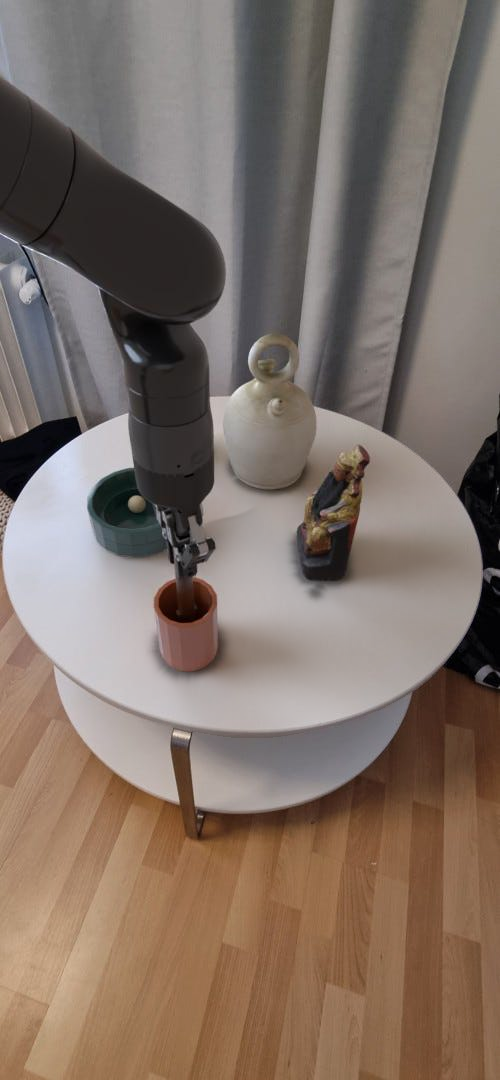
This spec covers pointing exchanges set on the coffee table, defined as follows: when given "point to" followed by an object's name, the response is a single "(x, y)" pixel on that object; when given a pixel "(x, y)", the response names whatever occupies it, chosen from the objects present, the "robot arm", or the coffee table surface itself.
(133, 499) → the dough ball
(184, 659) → the crock
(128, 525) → the bowl
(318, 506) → the statue
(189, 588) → the stick
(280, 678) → the coffee table surface
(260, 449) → the jug
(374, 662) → the coffee table surface
